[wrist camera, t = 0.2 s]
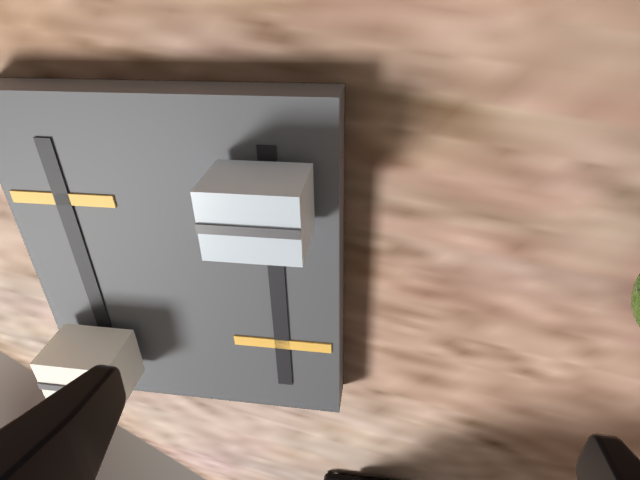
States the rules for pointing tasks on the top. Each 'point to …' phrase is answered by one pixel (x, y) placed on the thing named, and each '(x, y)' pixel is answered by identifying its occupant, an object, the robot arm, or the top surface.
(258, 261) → the white fader
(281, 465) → the top surface
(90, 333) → the cream fader
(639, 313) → the beverage can
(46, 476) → the robot arm
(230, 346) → the console
